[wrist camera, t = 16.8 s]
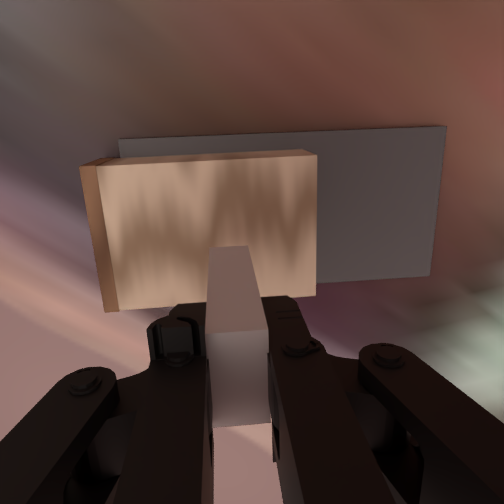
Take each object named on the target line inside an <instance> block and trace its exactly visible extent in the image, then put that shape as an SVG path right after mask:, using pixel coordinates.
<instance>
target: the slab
mask: <svg viewBox="0 0 504 504" xmlns="http://www.w3.org/2000/svg"><path fill="white" fill-rule="evenodd" d="M79 170H80V176H81V181H82V187H83V193H84V198H85V204H86V210H87V215H88V221H89V227H90V232H91V238H92V243H93V249H94V255H95V260H96V266H97V272H98V277H99V283H100V289H101V294H102V300H103V306H104V311H105V312H119V311H120V310H130V309H143V308H157V307H170V306H176V305H177V304H182V303H197V302H207V284H208V265H209V248H211V247H228V246H245V245H248V247H249V252H250V256H251V260H252V264H253V268H254V272H255V276H256V281H257V285H258V289H259V293H260V297H268V296H283V295H287V296H289V297H290V298H292V297H306V296H316V232H317V155H316V154H313V153H311V152H308V151H305V150H303V149H294V150H274V151H254V152H234V153H214V154H194V155H174V156H153V157H133V158H100V159H97V160H95V161H92V162H89V163H87V164H84V165H81V166H79Z"/></svg>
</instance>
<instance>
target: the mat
mask: <svg viewBox="0 0 504 504" xmlns="http://www.w3.org/2000/svg"><path fill="white" fill-rule="evenodd" d="M446 130H447V126H429V127H404V128H379V129H354V130H329V131H305V132H280V133H255V134H230V135H205V136H181V137H156V138H131V139H118V145H119V152H120V158H133V157H153V156H174V155H194V154H214V153H234V152H254V151H274V150H294V149H303V150H305V151H308V152H311V153H313V154H316V155H317V232H316V283H331V282H346V281H362V280H377V279H392V278H407V277H422V276H430V269H431V260H432V252H433V243H434V234H435V226H436V217H437V208H438V200H439V191H440V182H441V174H442V165H443V156H444V147H445V139H446Z"/></svg>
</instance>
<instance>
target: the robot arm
mask: <svg viewBox="0 0 504 504" xmlns="http://www.w3.org/2000/svg"><path fill="white" fill-rule="evenodd" d="M147 337H148V345H149V352H150V360H151V361H150V365H149V368H148V369H147V370H145V371H143V372H141V373H138V374H136V375H133V376H130V377H126V378H123V379H119V380H117V379H116V375H115V373H114V372H113V371H112V370H110V369H108V368H104V367H87V368H84V369H83V368H82V369H79V370H77V371H75V372H73V373H70V374H68V375H66V376H65V377H64V378H62V379H61V380H60V381H58V382H57V383H56V384H55V385H54V386H53V387H52V389H50V391H49V392H48V393H47V394H46V395H45V396H44V397H43V398H42V399H41V400H40V401H39V402H38V403H37V404H36V405H35V406H34V407H33V408H32V409H31V410H30V411H29V412H28V413H27V414H26V415H25V416H24V417H23V419H22V420H21V421H20V422H19V423H18V424H17V425H16V426H15V427H14V428H13V429H12V430H11V431H10V432H9V433H8V434H7V435H6V436H5V437H4V438H3V439H2V440H1V441H0V504H213V499H214V497H213V496H214V495H213V491H214V489H213V488H214V442H213V428H217V427H229V426H240V425H251V424H262V423H271V418H272V446H273V462H276V463H277V468H278V474H279V480H280V486H281V492H282V498H283V503H284V504H504V423H502V422H501V421H500V420H498V419H497V418H496V417H495V416H493V415H492V414H491V413H489V412H488V411H487V410H485V409H484V408H483V407H482V406H480V405H479V404H478V403H476V402H475V401H474V400H473V399H471V398H470V397H469V396H467V395H466V394H465V393H464V392H462V391H461V390H460V389H458V388H457V387H456V386H455V385H453V384H452V383H451V382H449V381H448V380H447V379H445V378H444V377H443V376H442V375H440V374H439V373H438V372H436V371H435V370H434V369H433V368H431V367H430V366H429V365H427V364H426V363H425V362H424V361H422V360H421V359H420V358H418V357H417V356H416V355H415V354H413V353H412V352H410V351H408V350H407V349H405V348H403V347H400V346H396V345H394V344H389V343H387V344H386V343H378V344H370V345H368V346H365V347H363V348H362V349H361V351H360V352H359V360H358V359H349V358H342V357H336V356H333V355H330V354H327V352H326V350H325V348H324V346H323V345H322V344H321V342H320V341H318V340H316V339H314V338H312V337H311V335H310V333H309V330H308V328H307V326H306V323H305V321H304V319H303V316H302V314H301V312H300V309H299V307H298V305H297V302H296V301H295V300H293V299H292V298H290V297H289V296H287V295H283V296H268V297H260V293H259V289H258V285H257V281H256V276H255V272H254V268H253V264H252V260H251V256H250V252H249V247H248V245H245V246H228V247H211V248H209V265H208V284H207V302H197V303H182V304H177V305H176V306H175V307H174V308H173V309H172V310H171V311H170V313H169V316H166V317H163V318H160V319H157V320H156V321H154V322H153V323H151V324H150V325H149V327H148V328H147ZM270 413H271V416H270ZM212 427H213V428H212Z"/></svg>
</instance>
